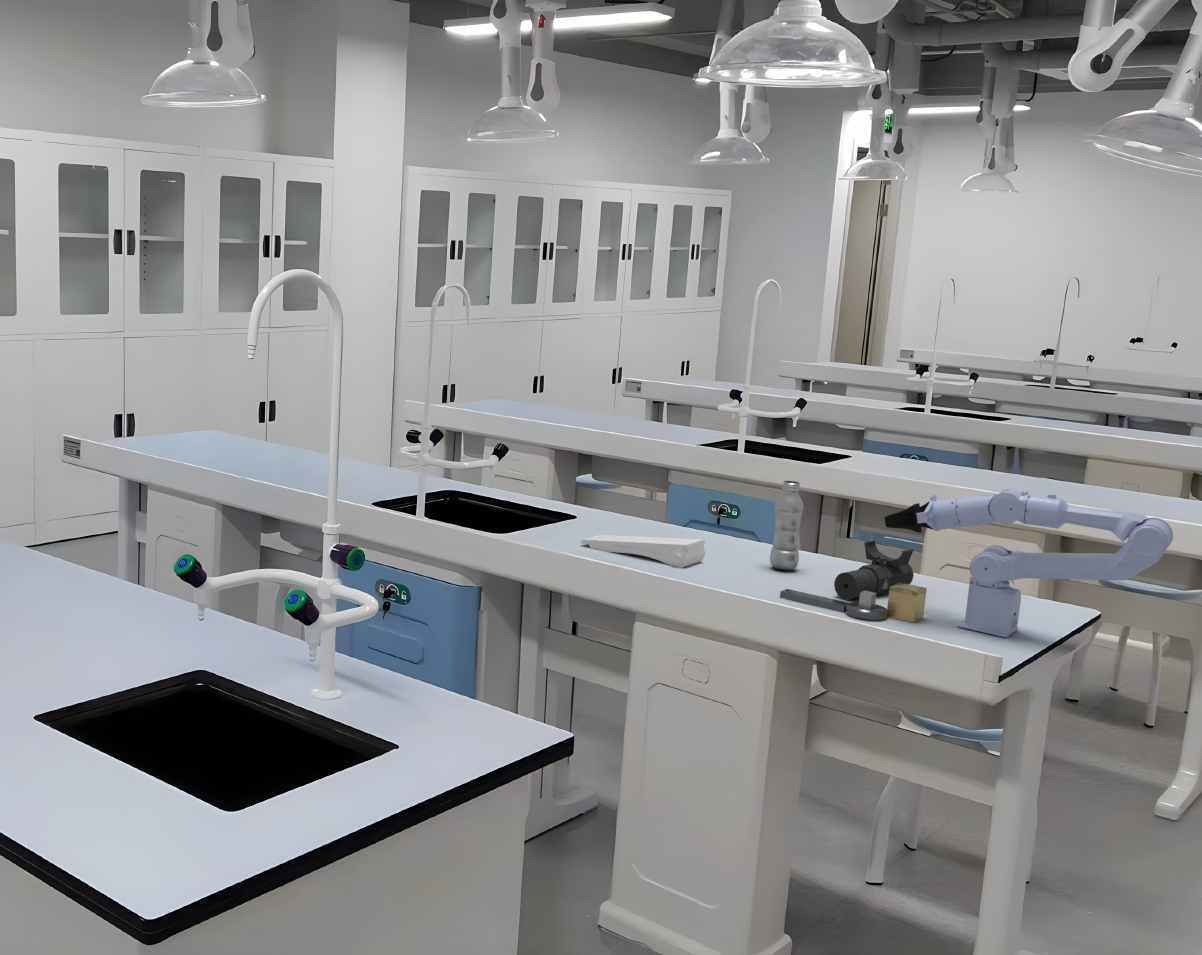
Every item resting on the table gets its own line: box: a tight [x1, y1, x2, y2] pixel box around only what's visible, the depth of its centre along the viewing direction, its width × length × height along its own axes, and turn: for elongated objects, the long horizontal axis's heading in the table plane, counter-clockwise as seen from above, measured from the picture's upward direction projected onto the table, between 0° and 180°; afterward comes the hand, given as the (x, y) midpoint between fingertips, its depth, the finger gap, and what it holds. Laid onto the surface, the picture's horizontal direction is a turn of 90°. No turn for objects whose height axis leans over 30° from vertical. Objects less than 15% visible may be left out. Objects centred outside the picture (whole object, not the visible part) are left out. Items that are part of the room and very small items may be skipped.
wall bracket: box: [580, 534, 706, 568], centre depth 268 cm, size 10×7×28 cm
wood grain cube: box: [886, 583, 928, 624], centre depth 229 cm, size 6×6×6 cm
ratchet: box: [779, 588, 888, 622], centre depth 232 cm, size 22×8×5 cm, turn 55°
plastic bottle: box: [769, 480, 805, 571], centre depth 261 cm, size 6×7×20 cm
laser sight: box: [833, 540, 914, 601], centre depth 247 cm, size 10×22×10 cm, turn 134°
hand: (891, 520), depth 233 cm, fingers open, 7 cm apart
